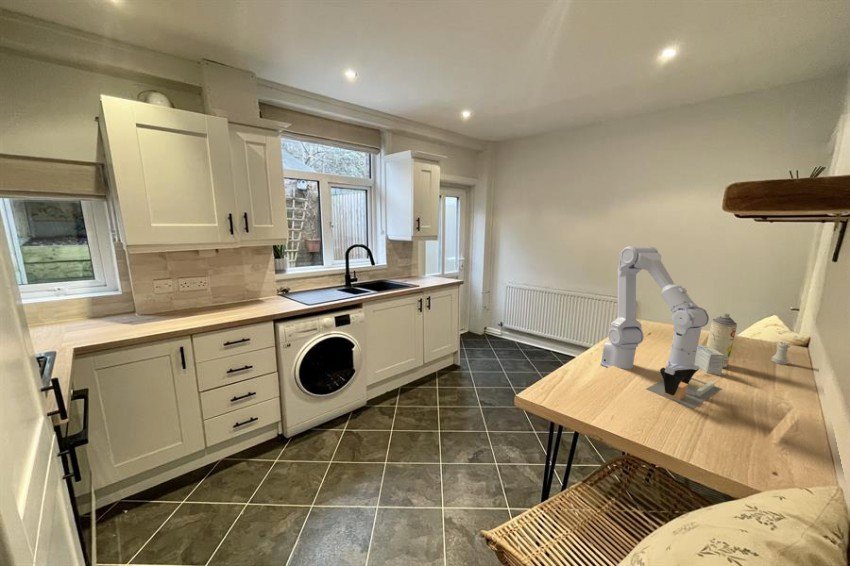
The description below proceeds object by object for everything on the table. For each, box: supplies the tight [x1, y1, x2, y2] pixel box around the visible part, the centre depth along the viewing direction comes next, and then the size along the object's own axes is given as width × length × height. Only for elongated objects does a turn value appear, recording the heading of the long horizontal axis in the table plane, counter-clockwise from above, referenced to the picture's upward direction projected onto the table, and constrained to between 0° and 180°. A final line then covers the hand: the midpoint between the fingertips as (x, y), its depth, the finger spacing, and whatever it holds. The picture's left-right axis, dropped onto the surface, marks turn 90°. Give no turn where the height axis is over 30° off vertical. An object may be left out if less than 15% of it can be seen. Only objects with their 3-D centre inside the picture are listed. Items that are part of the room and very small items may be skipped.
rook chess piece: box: [770, 341, 791, 366], centre depth 122 cm, size 4×4×8 cm
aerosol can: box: [706, 312, 738, 369], centre depth 118 cm, size 7×7×20 cm
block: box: [664, 382, 689, 400], centre depth 95 cm, size 4×4×4 cm
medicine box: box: [694, 345, 725, 377], centre depth 112 cm, size 8×4×9 cm, turn 168°
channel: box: [645, 377, 723, 410], centre depth 99 cm, size 12×22×3 cm, turn 121°
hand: (675, 390), depth 95 cm, fingers open, 7 cm apart
